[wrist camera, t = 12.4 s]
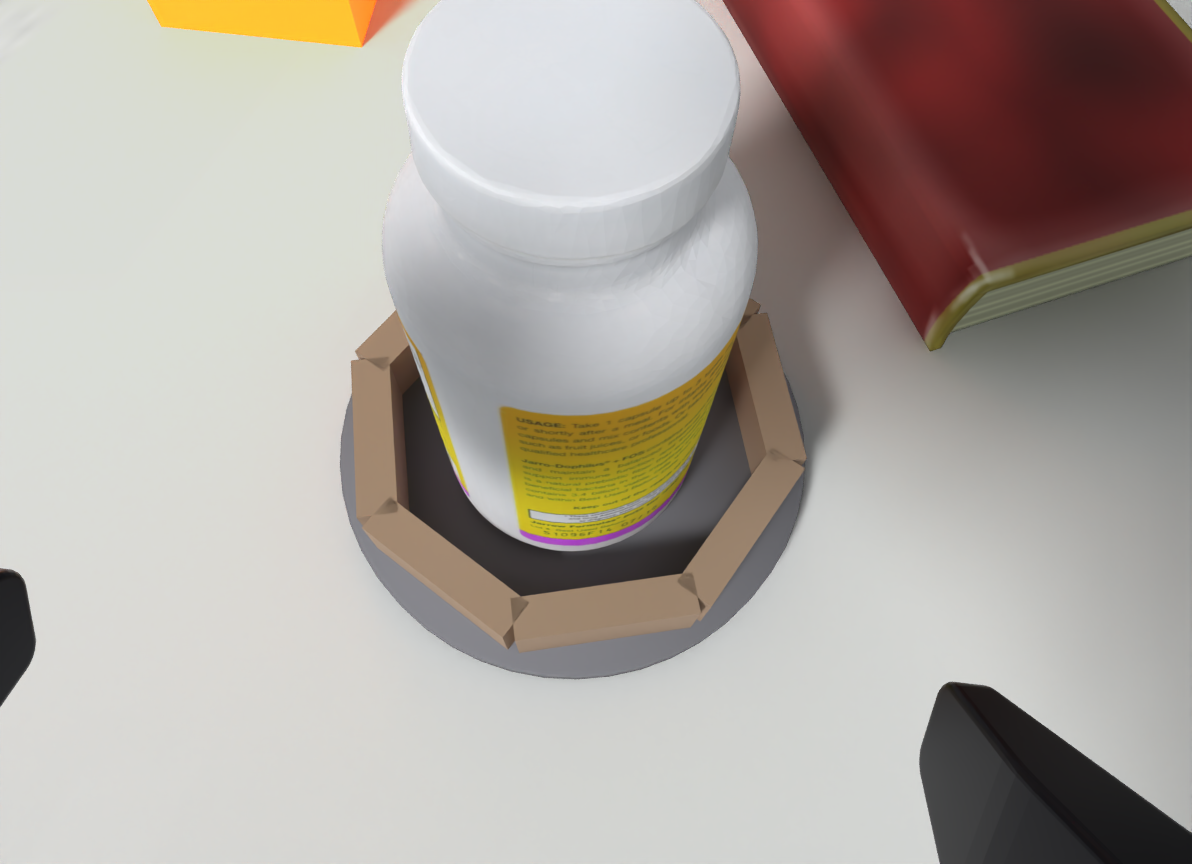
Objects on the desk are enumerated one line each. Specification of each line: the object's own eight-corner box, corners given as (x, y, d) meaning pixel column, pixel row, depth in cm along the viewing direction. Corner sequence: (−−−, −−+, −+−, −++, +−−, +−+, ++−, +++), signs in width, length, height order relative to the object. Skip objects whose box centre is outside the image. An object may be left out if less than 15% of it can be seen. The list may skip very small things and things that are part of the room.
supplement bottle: (735, 430, 23) (912, 58, 11) (585, 609, 21) (610, 377, 9) (558, 299, 25) (550, -148, 13) (400, 452, 22) (218, 83, 11)
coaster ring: (354, 715, 20) (326, 705, 18) (341, 284, 26) (318, 233, 23) (850, 639, 22) (885, 620, 19) (742, 241, 27) (759, 188, 24)
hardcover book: (919, 359, 26) (980, 283, 22) (673, -63, 34) (686, -174, 30) (1229, 260, 28) (1335, 173, 24) (927, -118, 35) (970, -229, 32)
